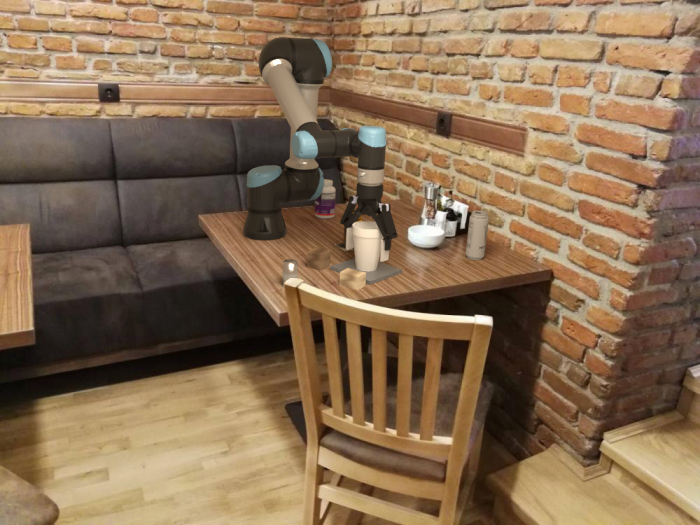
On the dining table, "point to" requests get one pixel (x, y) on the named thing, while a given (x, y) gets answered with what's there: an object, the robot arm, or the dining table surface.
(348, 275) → the beech block
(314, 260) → the brown cube
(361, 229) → the foam cup
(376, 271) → the slate board
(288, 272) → the metal shaker
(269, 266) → the dining table surface
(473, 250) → the energy drink can
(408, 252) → the dining table surface
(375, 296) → the dining table surface
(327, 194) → the pill bottle
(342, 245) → the condiment
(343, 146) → the robot arm
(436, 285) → the dining table surface
